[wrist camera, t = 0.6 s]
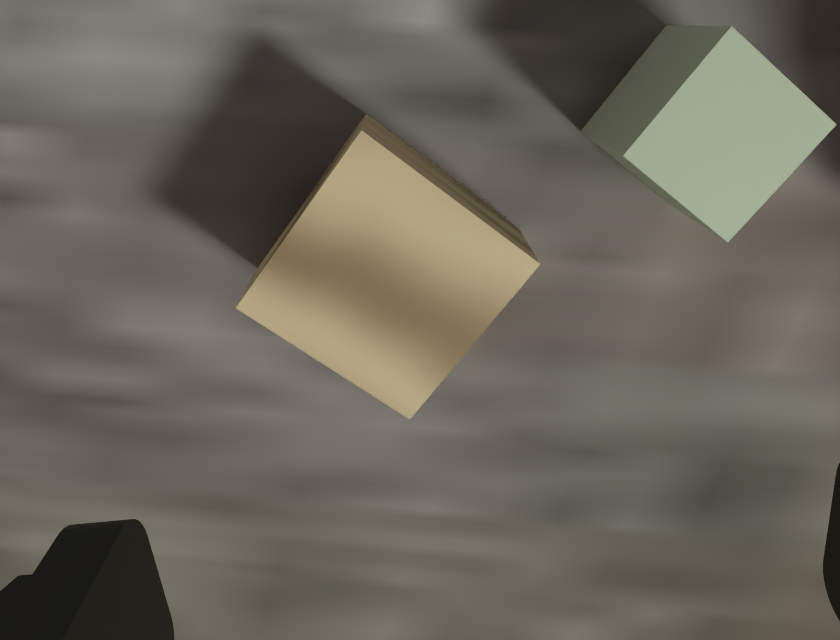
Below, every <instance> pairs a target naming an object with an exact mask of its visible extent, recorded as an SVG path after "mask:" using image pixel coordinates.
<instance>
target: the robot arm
mask: <svg viewBox="0 0 840 640" xmlns="http://www.w3.org/2000/svg"><path fill="white" fill-rule="evenodd" d="M823 574H824V582H825V587H826V590H827V594H828V597H829V600H830V603H831V605H832V607H833V610H834V611H835V613H836V615H837V617H838V619H839V620H840V463H839V466H838V468H837V472H836V478H835V485H834V492H833V498H832V505H831V512H830V519H829V526H828V532H827V539H826V546H825V553H824V560H823ZM0 640H174V629H173V622H172V618H171V614H170V611H169V607H168V604H167V601H166V597H165V594H164V590H163V587H162V584H161V580H160V577H159V573H158V570H157V567H156V563H155V560H154V556H153V553H152V550H151V546H150V543H149V539H148V536H147V533H146V530H145V528H144V527H143V525H142V524H141V522H139V521H138V520H136V519H129V520H118V521H108V522H97V523H86V524H75V525H69V526H67V527H65V528H64V529H63V530H62V531H61V532H60V533H59V535H58V536H57V538H56V539H55V541H54V542H53V544H52V545H51V547H50V548H49V550H48V551H47V553H46V554H45V556H44V557H43V559H42V561H41V562H40V564H39V565H38V567H37V568H36V570H35V571H34V573H33V574H31V575H21V576H17V577H16V578H15V579H14V580H13V581H12V582H10V583H9V584H8V585H7V586H6V587H5V588H3V589H2V590H1V591H0Z"/></svg>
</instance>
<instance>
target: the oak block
mask: <svg viewBox="0 0 840 640" xmlns="http://www.w3.org/2000/svg"><path fill="white" fill-rule="evenodd" d="M539 265H540V263H539V261H538V259H537V258H536V256H535V254H534V253H533V251H532V249H531V248H530V246H529V244H528V243H527V241H526V240H525V238H524V236H523V235H522V233H521V231H520V230H519V229H518V228H517V227H515V226H514V225H513V224H511V223H510V222H509V221H507V220H506V219H505V218H503V217H502V216H501V215H499V214H498V213H497V212H495V211H494V210H493V209H491V208H490V207H489V206H487V205H486V204H485V203H484V202H482V201H481V200H480V199H478V198H477V197H476V196H474V195H473V194H472V193H470V192H469V191H468V190H466V189H465V188H464V187H462V186H461V185H460V184H458V183H457V182H456V181H454V180H453V179H452V178H451V177H449V176H448V175H447V174H445V173H444V172H443V171H441V170H440V169H439V168H437V167H436V166H435V165H433V164H432V163H431V162H429V161H428V160H427V159H425V158H424V157H423V156H421V155H420V154H419V153H417V152H416V151H415V150H414V149H412V148H411V147H410V146H408V145H407V144H406V143H404V142H403V141H402V140H400V139H399V138H398V137H396V136H395V135H394V134H392V133H391V132H390V131H388V130H387V129H386V128H384V127H383V126H382V125H381V124H379V123H378V122H377V121H375V120H374V119H373V118H371V117H370V116H369V115H367V114H366V115H365V116H364V117H363V119H362V120H361V122H360V123H359V125H358V126H357V127H356V129H355V130H354V132H353V133H352V135H351V136H350V137H349V139H348V140H347V142H346V143H345V144H344V146H343V147H342V149H341V150H340V152H339V153H338V154H337V156H336V157H335V159H334V160H333V162H332V163H331V164H330V166H329V167H328V169H327V170H326V171H325V173H324V174H323V176H322V177H321V179H320V180H319V181H318V183H317V184H316V186H315V187H314V189H313V190H312V191H311V193H310V194H309V196H308V197H307V198H306V200H305V201H304V203H303V204H302V206H301V207H300V208H299V210H298V211H297V213H296V214H295V216H294V217H293V218H292V220H291V221H290V223H289V224H288V225H287V227H286V228H285V230H284V231H283V233H282V234H281V235H280V237H279V238H278V240H277V241H276V242H275V244H274V245H273V247H272V248H271V250H270V251H269V252H268V254H267V255H266V257H265V258H264V260H263V261H262V262H261V264H260V265H259V267H258V268H257V270H256V272H255V274H254V275H253V277H252V279H251V281H250V283H249V285H248V287H247V288H246V290H245V292H244V294H243V296H242V298H241V299H240V301H239V303H238V305H237V307H236V308H237V309H238V310H240V311H241V312H243V313H244V314H246V315H248V316H249V317H251V318H252V319H254V320H255V321H257V322H258V323H260V324H262V325H263V326H265V327H266V328H268V329H269V330H271V331H272V332H274V333H276V334H277V335H279V336H280V337H282V338H283V339H285V340H287V341H288V342H290V343H291V344H293V345H294V346H296V347H297V348H299V349H301V350H302V351H304V352H305V353H307V354H308V355H310V356H311V357H313V358H315V359H316V360H318V361H319V362H321V363H322V364H324V365H326V366H327V367H329V368H330V369H332V370H333V371H335V372H336V373H338V374H340V375H341V376H343V377H344V378H346V379H347V380H349V381H350V382H352V383H354V384H355V385H357V386H358V387H360V388H361V389H363V390H364V391H366V392H368V393H369V394H371V395H372V396H374V397H375V398H377V399H379V400H380V401H382V402H383V403H385V404H386V405H388V406H389V407H391V408H393V409H394V410H396V411H397V412H399V413H400V414H402V415H403V416H405V417H407V418H408V419H410V418H411V417H412V416H413V415H414V414H415V412H416V411H417V410H418V409H419V408H420V407H421V405H422V404H423V403H424V402H425V401H426V399H427V398H428V397H429V396H430V395H431V393H432V392H433V391H434V390H435V389H436V388H437V386H438V385H439V384H440V383H441V382H442V380H443V379H444V378H445V377H446V376H447V374H448V373H449V372H450V371H451V370H452V369H453V367H454V366H455V365H456V364H457V363H458V361H459V360H460V359H461V358H462V357H463V355H464V354H465V353H466V352H467V351H468V350H469V348H470V347H471V346H472V345H473V344H474V342H475V341H476V340H477V339H478V338H479V336H480V335H481V334H482V333H483V332H484V331H485V329H486V328H487V327H488V326H489V325H490V323H491V322H492V321H493V320H494V319H495V317H496V316H497V315H498V314H499V313H500V312H501V310H502V309H503V308H504V307H505V306H506V304H507V303H508V302H509V301H510V300H511V298H512V297H513V296H514V295H515V294H516V293H517V291H518V290H519V289H520V288H521V287H522V285H523V284H524V283H525V282H526V281H527V279H528V278H529V277H530V276H531V275H532V274H533V272H534V271H535V270H536V269H537V268H538V266H539Z"/></svg>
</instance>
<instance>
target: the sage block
mask: <svg viewBox="0 0 840 640" xmlns="http://www.w3.org/2000/svg"><path fill="white" fill-rule="evenodd" d="M836 125H837V124H836V123H835V122H834V121H832V120H831V119H830V118H829V117H828V116H827V115H826V114H825V113H824V112H823V111H822V110H821V109H820V108H819V107H818V106H816V105H815V104H814V103H813V102H812V101H811V100H810V99H809V98H808V97H807V96H806V95H805V94H804V93H803V92H801V91H800V90H799V89H798V88H797V87H796V86H795V85H794V84H793V83H792V82H791V81H790V80H789V79H788V78H786V77H785V76H784V75H783V74H782V73H781V72H780V71H779V70H778V69H777V68H776V67H775V66H774V65H773V64H772V63H770V62H769V61H768V60H767V59H766V58H765V57H764V56H763V55H762V54H761V53H760V52H759V51H758V50H757V49H755V48H754V47H753V46H752V45H751V44H750V43H749V42H748V41H747V40H746V39H745V38H744V37H743V36H742V35H741V34H739V33H738V32H737V31H736V30H735V29H734V28H733V27H732V26H684V25H666V26H665V27H664V29H663V30H662V31H661V32H660V34H659V35H658V36H657V37H656V39H655V40H654V41H653V42H652V44H651V45H650V46H649V47H648V48H647V50H646V51H645V52H644V53H643V55H642V56H641V57H640V58H639V60H638V61H637V62H636V63H635V65H634V66H633V67H632V68H631V70H630V71H629V72H628V73H627V74H626V76H625V77H624V78H623V79H622V81H621V82H620V83H619V84H618V86H617V87H616V88H615V89H614V91H613V92H612V93H611V94H610V95H609V97H608V98H607V99H606V100H605V102H604V103H603V104H602V105H601V107H600V108H599V109H598V110H597V112H596V113H595V114H594V115H593V117H592V118H591V119H590V120H589V121H588V123H587V124H586V125H585V126H584V128H583V129H582V130H581V132H582V133H584V134H585V135H586V136H587V137H588V138H590V139H591V140H592V141H593V142H594V143H596V144H597V145H598V146H599V147H601V148H602V149H603V150H604V151H605V152H607V153H608V154H609V155H610V156H611V157H613V158H614V159H615V160H616V161H618V162H619V163H620V164H621V165H622V166H624V167H625V168H626V169H627V170H628V171H630V172H631V173H632V174H633V175H635V176H636V177H637V178H638V179H639V180H641V181H642V182H643V183H644V184H646V185H647V186H648V187H649V188H650V189H652V190H653V191H654V192H655V193H656V194H658V195H659V196H660V197H661V198H663V199H664V200H665V201H666V202H667V203H669V204H670V205H672V206H673V207H675V208H676V209H678V210H679V211H681V212H682V213H684V214H685V215H687V216H688V217H690V218H691V219H693V220H694V221H696V222H697V223H699V224H700V225H702V226H703V227H705V228H706V229H708V230H710V231H711V232H713V233H714V234H716V235H717V236H719V237H720V238H722V239H723V240H725V241H726V242H729V241H730V240H731V238H732V237H733V236H734V235H735V234H736V233H737V232H738V231H739V230H740V229H741V228H742V227H743V225H744V224H745V223H746V222H747V221H748V220H749V219H750V218H751V217H752V216H753V215H754V214H755V212H756V211H757V210H758V209H759V208H760V207H761V206H762V205H763V204H764V203H765V202H766V201H767V199H768V198H769V197H770V196H771V195H772V194H773V193H774V192H775V191H776V190H777V189H778V188H779V186H780V185H781V184H782V183H783V182H784V181H785V180H786V179H787V178H788V177H789V176H790V175H791V173H792V172H793V171H794V170H795V169H796V168H797V167H798V166H799V165H800V164H801V163H802V162H803V160H804V159H805V158H806V157H807V156H808V155H809V154H810V153H811V152H812V151H813V150H814V149H815V147H816V146H817V145H818V144H819V143H820V142H821V141H822V140H823V139H824V138H825V137H826V136H827V134H828V133H829V132H830V131H831V130H832V129H833V128H834V127H835V126H836Z"/></svg>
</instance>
